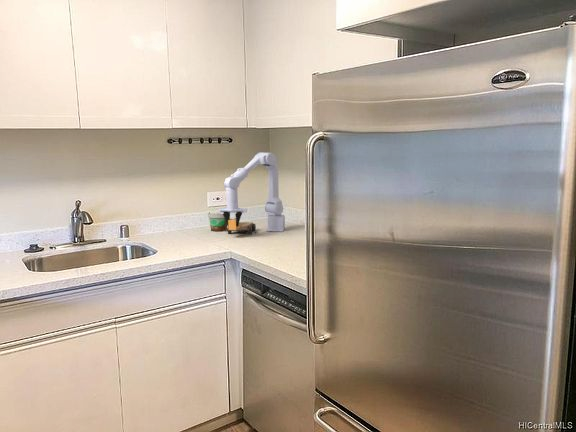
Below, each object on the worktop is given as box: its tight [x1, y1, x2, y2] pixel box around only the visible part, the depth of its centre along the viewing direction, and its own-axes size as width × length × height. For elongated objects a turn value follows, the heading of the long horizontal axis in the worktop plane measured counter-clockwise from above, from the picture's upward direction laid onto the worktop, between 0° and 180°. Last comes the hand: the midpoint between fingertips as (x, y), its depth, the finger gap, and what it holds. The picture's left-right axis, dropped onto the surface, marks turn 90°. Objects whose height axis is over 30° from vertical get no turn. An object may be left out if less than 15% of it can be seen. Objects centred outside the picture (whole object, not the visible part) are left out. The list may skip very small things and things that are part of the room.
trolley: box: [227, 217, 257, 235], centre depth 254 cm, size 13×13×7 cm
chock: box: [227, 218, 240, 230], centre depth 242 cm, size 4×8×5 cm, turn 171°
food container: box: [207, 212, 228, 233], centre depth 258 cm, size 12×6×10 cm, turn 73°
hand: (233, 226), depth 240 cm, fingers closed on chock, 4 cm apart
